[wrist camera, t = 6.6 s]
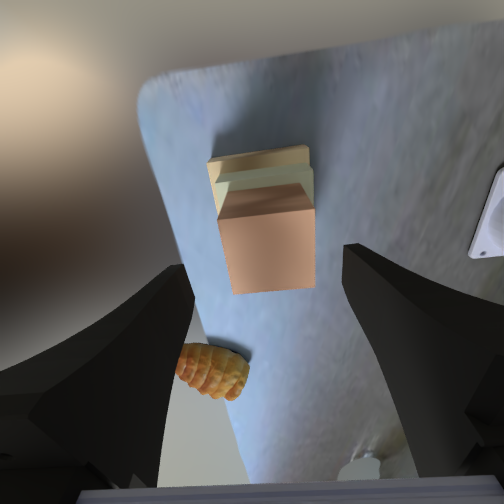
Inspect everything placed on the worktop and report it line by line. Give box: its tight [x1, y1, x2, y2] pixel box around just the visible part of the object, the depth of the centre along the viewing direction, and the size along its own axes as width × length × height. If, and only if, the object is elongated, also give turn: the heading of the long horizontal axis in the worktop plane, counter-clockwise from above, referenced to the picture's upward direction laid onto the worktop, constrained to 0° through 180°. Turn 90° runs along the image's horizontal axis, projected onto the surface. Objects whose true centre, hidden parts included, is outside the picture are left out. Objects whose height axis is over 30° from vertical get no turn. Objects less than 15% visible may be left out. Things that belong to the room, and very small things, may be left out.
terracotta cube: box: [217, 183, 315, 295], centre depth 14 cm, size 4×4×4 cm
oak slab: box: [207, 144, 310, 216], centre depth 19 cm, size 7×7×2 cm
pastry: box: [175, 343, 250, 401], centre depth 29 cm, size 9×7×4 cm
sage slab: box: [215, 162, 314, 211], centre depth 17 cm, size 6×6×2 cm
